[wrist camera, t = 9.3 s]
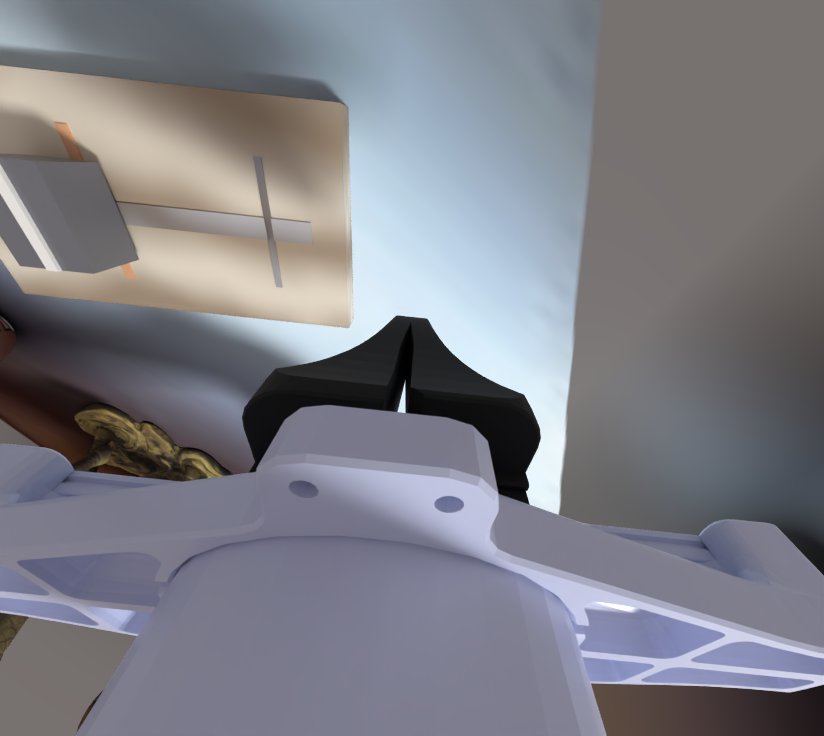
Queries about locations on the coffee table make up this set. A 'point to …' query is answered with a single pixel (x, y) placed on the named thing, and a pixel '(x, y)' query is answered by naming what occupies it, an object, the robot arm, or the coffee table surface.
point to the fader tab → (60, 215)
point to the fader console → (198, 193)
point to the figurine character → (6, 338)
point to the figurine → (127, 469)
